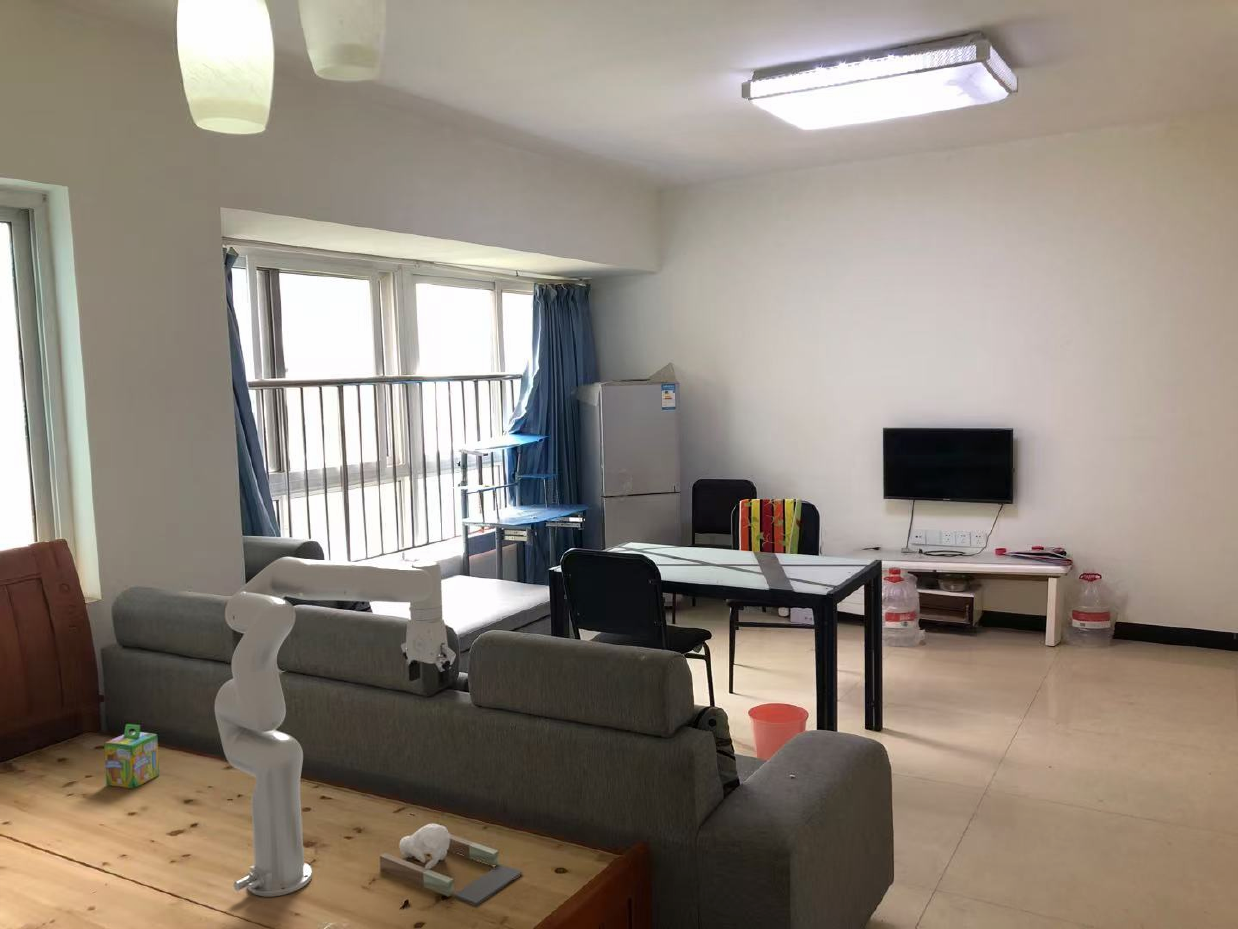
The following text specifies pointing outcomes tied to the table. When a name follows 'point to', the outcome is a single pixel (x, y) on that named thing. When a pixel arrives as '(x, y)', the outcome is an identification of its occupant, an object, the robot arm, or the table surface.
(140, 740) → the chalk box
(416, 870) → the parallel bars
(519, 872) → the mat
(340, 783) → the table surface
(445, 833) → the white figurine
